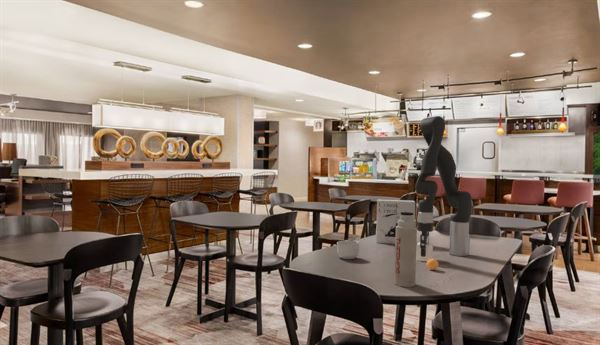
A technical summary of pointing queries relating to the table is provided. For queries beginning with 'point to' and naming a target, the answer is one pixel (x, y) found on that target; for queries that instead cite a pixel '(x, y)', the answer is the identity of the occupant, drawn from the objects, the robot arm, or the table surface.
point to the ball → (432, 264)
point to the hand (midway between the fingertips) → (424, 254)
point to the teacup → (348, 249)
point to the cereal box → (390, 218)
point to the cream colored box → (428, 252)
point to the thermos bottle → (405, 251)
